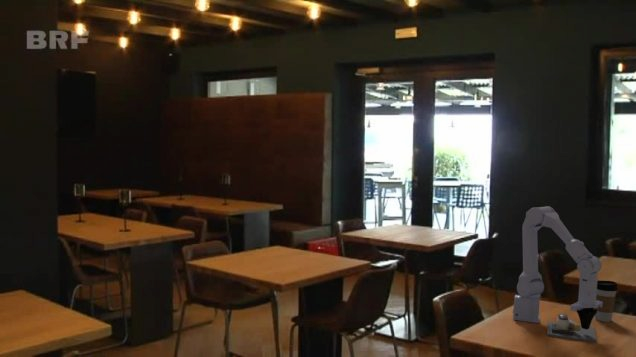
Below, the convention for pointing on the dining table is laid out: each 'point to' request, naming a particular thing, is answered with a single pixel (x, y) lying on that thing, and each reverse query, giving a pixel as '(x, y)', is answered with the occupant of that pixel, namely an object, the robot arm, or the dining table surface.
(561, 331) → the panel
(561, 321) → the plug
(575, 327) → the clip
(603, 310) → the coffee cup
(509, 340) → the dining table surface
